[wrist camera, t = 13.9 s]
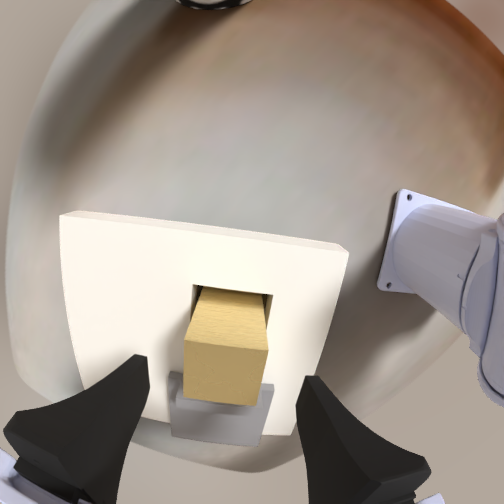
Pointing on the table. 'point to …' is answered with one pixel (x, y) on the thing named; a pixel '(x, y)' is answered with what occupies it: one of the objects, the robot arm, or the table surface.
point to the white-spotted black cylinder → (211, 3)
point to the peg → (225, 347)
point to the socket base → (192, 298)
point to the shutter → (217, 416)
